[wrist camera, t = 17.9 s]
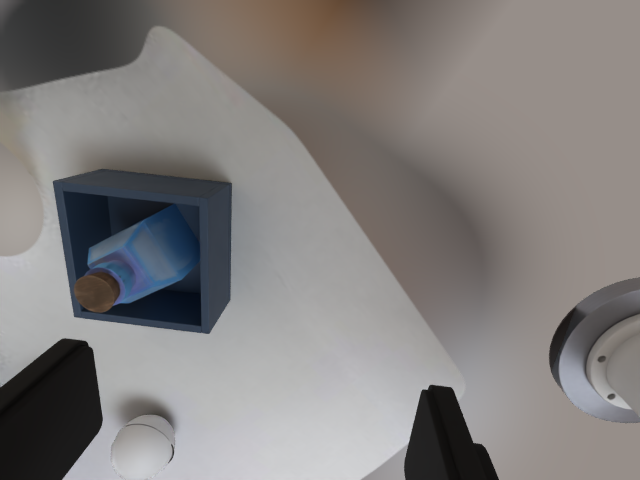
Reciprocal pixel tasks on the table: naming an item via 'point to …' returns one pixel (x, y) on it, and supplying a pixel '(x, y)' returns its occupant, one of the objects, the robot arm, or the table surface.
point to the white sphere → (143, 447)
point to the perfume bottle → (138, 261)
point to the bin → (133, 206)
